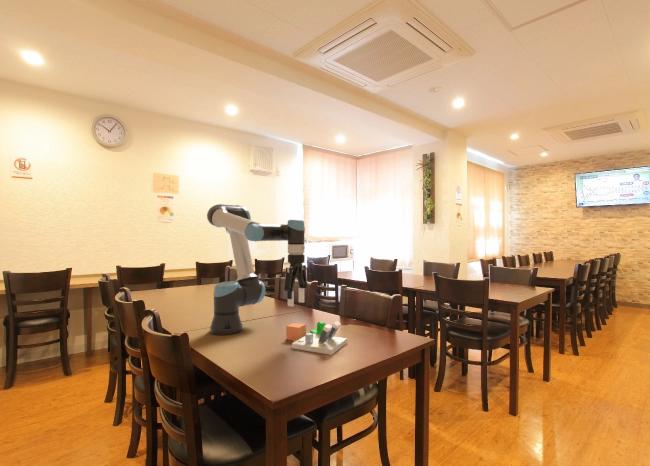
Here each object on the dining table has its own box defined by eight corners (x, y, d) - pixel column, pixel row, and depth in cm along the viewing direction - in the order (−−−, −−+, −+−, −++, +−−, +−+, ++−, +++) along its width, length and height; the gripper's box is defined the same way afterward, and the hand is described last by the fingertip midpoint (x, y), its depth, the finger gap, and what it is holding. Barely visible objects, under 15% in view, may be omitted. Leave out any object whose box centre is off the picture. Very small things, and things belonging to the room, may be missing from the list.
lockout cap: (286, 339, 151) (286, 326, 151) (293, 335, 157) (293, 322, 157) (298, 341, 149) (298, 327, 149) (306, 337, 154) (305, 324, 154)
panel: (291, 348, 139) (291, 343, 139) (310, 337, 154) (310, 332, 154) (330, 355, 131) (330, 349, 131) (347, 343, 146) (347, 337, 146)
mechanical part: (334, 339, 153) (334, 321, 153) (322, 341, 150) (322, 323, 150) (321, 332, 163) (321, 316, 163) (310, 334, 160) (310, 317, 160)
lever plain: (324, 338, 143) (333, 323, 141) (329, 335, 147) (337, 320, 145) (328, 341, 142) (337, 326, 141) (332, 338, 146) (341, 323, 145)
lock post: (305, 342, 140) (305, 334, 140) (308, 341, 142) (308, 332, 142) (310, 343, 139) (310, 335, 139) (313, 342, 141) (313, 333, 141)
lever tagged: (317, 343, 137) (323, 326, 135) (321, 340, 141) (328, 323, 139) (321, 346, 136) (328, 328, 135) (326, 342, 140) (332, 326, 139)
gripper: (290, 255, 142) (290, 309, 142) (314, 252, 161) (314, 300, 161) (275, 255, 145) (275, 308, 145) (300, 252, 164) (301, 299, 164)
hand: (296, 304), depth 153 cm, fingers open, 9 cm apart
